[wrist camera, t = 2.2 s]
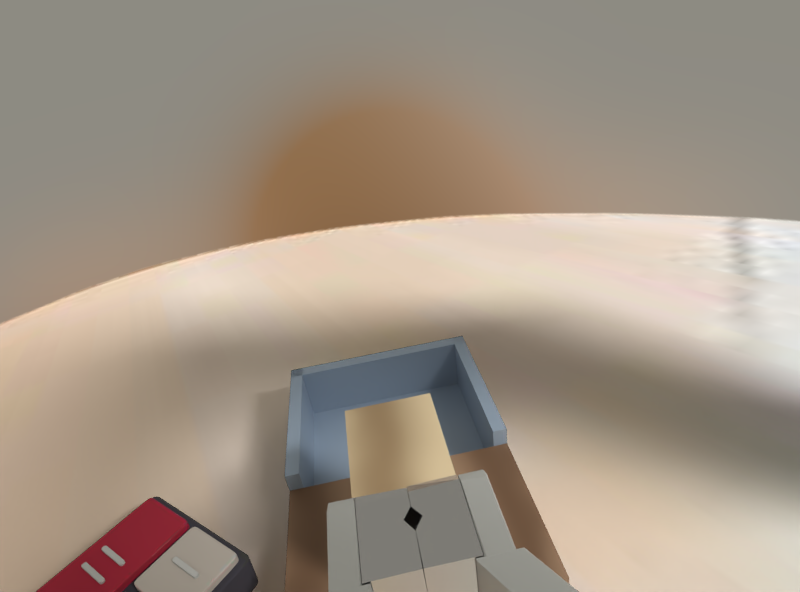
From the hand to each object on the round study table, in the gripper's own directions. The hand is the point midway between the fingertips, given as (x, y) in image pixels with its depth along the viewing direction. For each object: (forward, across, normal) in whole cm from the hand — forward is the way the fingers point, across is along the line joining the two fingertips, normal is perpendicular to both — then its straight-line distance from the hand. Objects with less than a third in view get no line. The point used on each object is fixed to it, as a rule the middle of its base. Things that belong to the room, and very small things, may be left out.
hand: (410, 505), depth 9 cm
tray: (+24, 0, +24) cm, 34 cm away
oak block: (+12, 0, +20) cm, 23 cm away
